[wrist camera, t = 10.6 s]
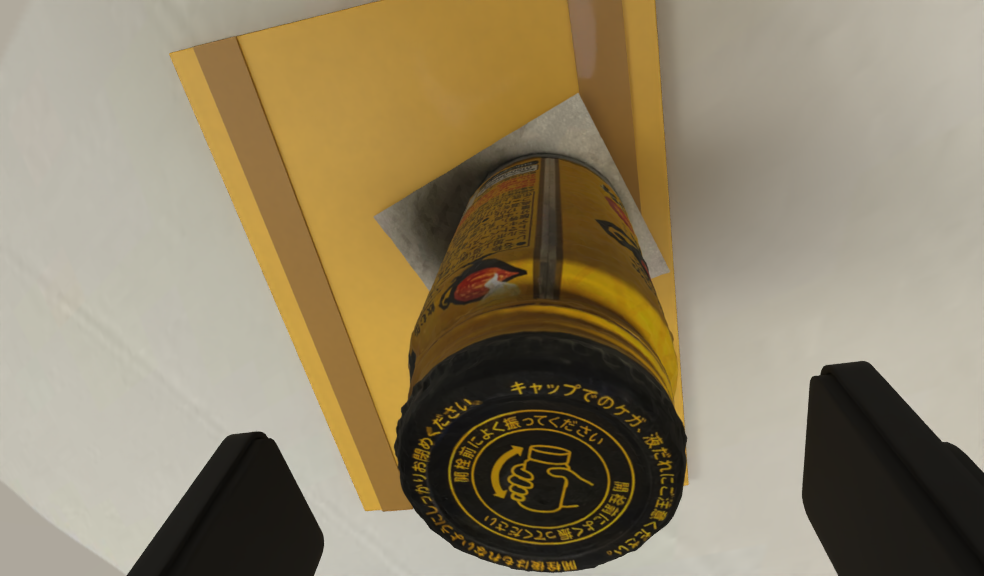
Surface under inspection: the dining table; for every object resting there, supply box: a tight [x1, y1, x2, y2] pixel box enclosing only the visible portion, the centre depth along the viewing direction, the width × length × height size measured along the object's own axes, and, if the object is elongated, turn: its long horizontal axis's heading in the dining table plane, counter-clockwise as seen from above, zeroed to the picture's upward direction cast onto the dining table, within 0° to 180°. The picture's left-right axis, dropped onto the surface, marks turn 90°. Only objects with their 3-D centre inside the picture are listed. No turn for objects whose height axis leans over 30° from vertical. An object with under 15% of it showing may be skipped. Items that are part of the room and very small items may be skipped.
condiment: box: [374, 93, 687, 573], centre depth 15 cm, size 7×8×12 cm
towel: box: [169, 0, 688, 512], centre depth 22 cm, size 22×16×1 cm
